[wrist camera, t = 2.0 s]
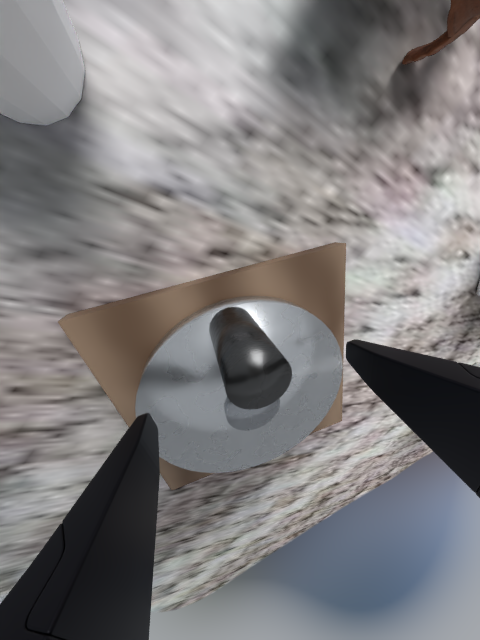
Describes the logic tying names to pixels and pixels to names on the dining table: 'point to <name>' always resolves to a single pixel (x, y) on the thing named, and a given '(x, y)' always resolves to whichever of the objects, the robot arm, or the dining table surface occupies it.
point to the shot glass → (38, 61)
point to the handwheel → (239, 383)
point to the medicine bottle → (478, 289)
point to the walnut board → (184, 299)
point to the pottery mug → (449, 29)
